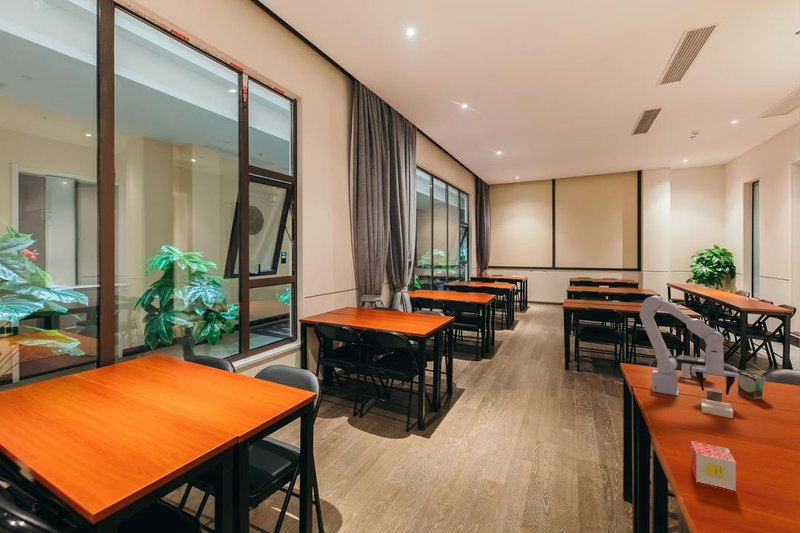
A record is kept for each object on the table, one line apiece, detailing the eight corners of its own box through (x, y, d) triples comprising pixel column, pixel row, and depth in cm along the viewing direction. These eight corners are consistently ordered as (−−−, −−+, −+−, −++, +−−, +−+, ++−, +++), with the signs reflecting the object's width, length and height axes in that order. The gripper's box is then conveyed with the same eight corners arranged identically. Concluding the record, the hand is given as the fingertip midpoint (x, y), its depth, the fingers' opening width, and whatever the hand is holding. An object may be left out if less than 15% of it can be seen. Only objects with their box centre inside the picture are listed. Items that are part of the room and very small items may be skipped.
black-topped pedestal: (654, 378, 180) (654, 352, 180) (665, 367, 198) (665, 344, 198) (729, 392, 160) (729, 363, 159) (733, 379, 177) (734, 353, 177)
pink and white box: (696, 482, 95) (696, 453, 95) (690, 467, 102) (691, 440, 101) (736, 492, 91) (736, 462, 91) (727, 476, 97) (728, 448, 97)
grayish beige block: (707, 402, 148) (707, 390, 148) (706, 398, 152) (706, 387, 152) (722, 405, 145) (722, 393, 145) (721, 401, 149) (721, 389, 149)
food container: (774, 402, 147) (774, 379, 147) (757, 401, 148) (757, 378, 148) (751, 392, 159) (751, 370, 159) (735, 391, 160) (735, 369, 160)
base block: (701, 413, 139) (701, 405, 139) (701, 405, 146) (701, 398, 146) (733, 419, 133) (733, 411, 133) (730, 411, 140) (730, 404, 140)
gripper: (692, 359, 150) (692, 390, 150) (739, 365, 141) (739, 398, 141) (692, 355, 155) (692, 386, 155) (737, 361, 146) (737, 393, 146)
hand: (714, 392), depth 148 cm, fingers open, 7 cm apart
